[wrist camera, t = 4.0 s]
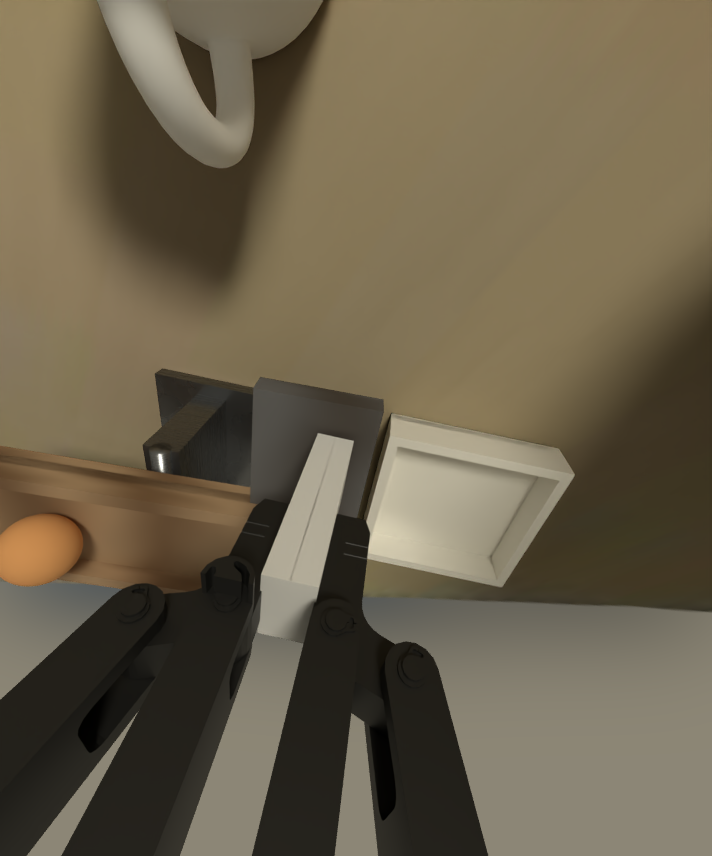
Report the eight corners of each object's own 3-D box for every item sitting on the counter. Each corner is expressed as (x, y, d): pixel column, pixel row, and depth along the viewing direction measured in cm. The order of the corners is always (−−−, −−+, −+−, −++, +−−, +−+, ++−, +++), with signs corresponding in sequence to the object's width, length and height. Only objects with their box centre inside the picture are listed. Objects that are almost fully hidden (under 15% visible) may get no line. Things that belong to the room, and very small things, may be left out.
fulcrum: (176, 486, 28) (116, 561, 22) (162, 368, 23) (79, 425, 17) (264, 505, 28) (228, 585, 22) (271, 391, 23) (225, 456, 17)
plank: (-12, 535, 21) (-64, 580, 18) (-137, 304, 14) (-247, 328, 11) (336, 589, 22) (331, 639, 19) (383, 399, 15) (384, 439, 12)
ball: (-5, 610, 16) (85, 589, 17) (-33, 564, 14) (68, 545, 16) (15, 551, 18) (92, 537, 20) (-7, 506, 17) (79, 494, 18)
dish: (360, 528, 28) (356, 556, 26) (391, 413, 23) (390, 435, 21) (494, 557, 28) (501, 587, 26) (558, 448, 23) (575, 474, 20)
